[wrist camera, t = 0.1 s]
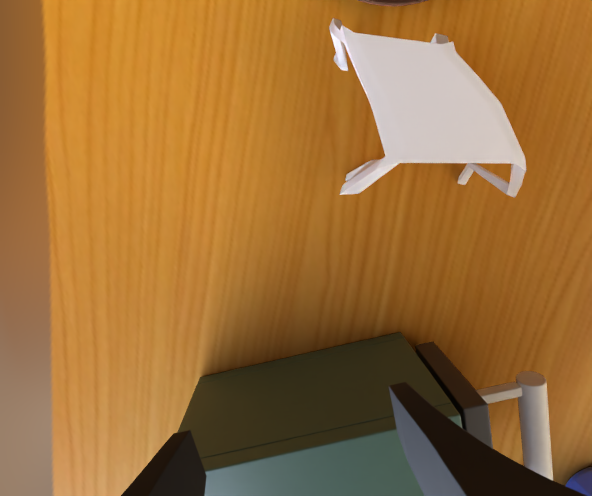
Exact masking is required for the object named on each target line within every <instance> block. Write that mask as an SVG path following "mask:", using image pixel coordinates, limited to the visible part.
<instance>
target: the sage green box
mask: <svg viewBox="0 0 592 496" xmlns="http://www.w3.org/2000/svg"><path fill="white" fill-rule="evenodd" d="M402 382H407V383H408V384H409V385H410V386H412V387H413V388H414V389H415V390H416V391H417V392H418V393H419V394H420V395H421V396H423V397H424V398H425V399H426V400H427V401H428V402H430V403H431V404H432V405H433V406H434V407H436V408H437V409H438V410H439V411H440V412H442V413H443V414H444V415H446V416H447V417H448V418H449V419H451V420H452V421H453V422H455V423H456V424H457V425H459V426H460V427H461V428H462V424H461V417H460V414H459V413H458V411H457V410H456V408H455V407H454V406H453V404H452V402H451V401H450V400H449V398H448V397H447V396H446V394H445V393H444V391H443V390H442V389H441V387H440V386H439V384H438V383H437V382H436V380H435V379H434V378H433V376H432V375H431V373H430V372H429V371H428V369H427V368H426V366H425V365H424V364H423V362H422V361H421V360H420V358H419V357H418V355H417V354H416V353H415V351H414V350H413V348H412V347H411V346H410V344H409V343H408V342H407V340H406V339H405V338H404V336H403V335H402V333H401V332H399V333H394V334H390V335H386V336H381V337H377V338H372V339H368V340H363V341H359V342H355V343H350V344H346V345H341V346H337V347H332V348H328V349H324V350H319V351H315V352H310V353H306V354H301V355H297V356H293V357H288V358H284V359H279V360H275V361H270V362H266V363H262V364H257V365H253V366H248V367H244V368H239V369H235V370H231V371H226V372H222V373H217V374H213V375H208V376H204V377H200V379H199V381H198V384H197V386H196V388H195V391H194V393H193V396H192V398H191V401H190V403H189V406H188V408H187V411H186V413H185V415H184V418H183V420H182V423H181V425H180V428H179V430H178V433H179V432H183V431H188V430H190V431H191V433H192V436H193V439H194V442H195V445H196V448H197V450H198V453H199V456H200V459H201V462H202V464H203V467H204V470H205V473H206V476H207V477H206V485H205V494H204V496H424V494H423V492H422V490H421V488H420V485H419V483H418V481H417V479H416V477H415V475H414V473H413V471H412V469H411V467H410V465H409V463H408V460H407V458H406V455H405V452H404V450H403V447H402V444H401V442H400V439H399V436H398V433H397V428H396V423H395V417H394V412H393V407H392V402H391V396H390V391H389V385H393V384H398V383H402Z"/></svg>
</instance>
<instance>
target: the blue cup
mask: <svg viewBox="0 0 592 496" xmlns="http://www.w3.org/2000/svg"><path fill="white" fill-rule="evenodd" d="M565 486H566V487H568V488H571V489H573V490H575V491H578V492H580V493H582V494H585V495H587V496H592V467H588V468H585V469H583V470H581V471H579V472H577V473H576V474H574V475H573V476H572V477H571V478H570V479H569V480H568V482H567V483H566V485H565Z"/></svg>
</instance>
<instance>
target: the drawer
mask: <svg viewBox="0 0 592 496" xmlns="http://www.w3.org/2000/svg"><path fill="white" fill-rule="evenodd" d="M415 348H416V354H417V355H418V357H419V358H420V360H421V361H422V362H423V364H424V365H425V366H426V368H427V369H428V371H429V372H430V373H431V375H432V376H433V378H434V379H435V380H436V382H437V383H438V384H439V386H440V387H441V389H442V390H443V391H444V393H445V394H446V396H447V397H448V398H449V400H450V401H451V402H452V404H453V406H454V407H455V408H456V410H457V411H458V413H459V414H460V417H461V424H462V428H463V429H464V430H466V431H467V432H468V433H470V434H471V435H473V436H474V437H476V438H477V439H479V440H480V441H482V442H483V443H485V444H486V445H488V446H489V447H491V448H493V445H492V436H491V427H490V418H489V410H488V404H489V403H493V402H498V401H503V400H507V399H512V398H516V397H518V406H519V417H520V428H521V439H522V450H523V461H524V466H525V467H527V468H528V469H530V470H532V471H534V472H536V473H538V474H540V475H542V476H544V477H546V478H548V479H551V480H553V471H552V456H551V442H550V427H549V412H548V397H547V383H546V379H545V378H544V376H542V375H541V374H539V373H536V372H532V371H522V372H520V373H518V374H517V375H516V382H510V383H506V384H501V385H497V386H492V387H488V388H483V389H478V390H475V389H474V388H473V387H472V385H471V384H470V383H469V382H468V381H467V380H466V379H465V377H464V376H463V375H462V374H461V373H460V372H459V371H458V369H457V368H456V367H455V366H454V365H453V364H452V363H451V361H450V360H449V359H448V358H447V357H446V356H445V354H444V353H443V352H442V351H441V350H440V349H439V348H438V346H437V345H436V344H435V343H434V342H428V343H423V344H419V345H416V346H415Z"/></svg>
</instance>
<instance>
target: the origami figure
mask: <svg viewBox="0 0 592 496" xmlns="http://www.w3.org/2000/svg"><path fill="white" fill-rule="evenodd" d="M329 29H330V33H331V36H332V40H333V43H334V47H335V50H336V54H335V57H334V61H335V63H336V64H337V65H338V66H339V68H340V69H341V70H346V71H348V65H347V59H346V52H345V47H346V49H347V52H348V54H349V57H350V59H351V61H352V64H353V66H354V69H355V71H356V73H357V76H358V78H359V80H360V82H361V84H362V86H363V89H364V91H365V93H366V95H367V97H368V99H369V102H370V105H371V108H372V111H373V114H374V117H375V121H376V124H377V128H378V131H379V135H380V138H381V142H382V145H383V149H384V152H385V157H384V158H382V159H381V160H371V161H369V162H367V163H365V164H364V165H362V166H360V167H359V168H357V169H355V170H353V171H352V172H350V173H348V174H347V176H346V180H345V181H347V182H346V183H345V184H343V186H342V188H341V191H340V194H339V195H342V194H359V193H360V192H362V191H363V190H364V189H366V188H367V187H368V186H370V185H371V184H372V183H374V182H375V181H376V180H378V179H379V178H380V177H382V176H383V175H384V174H386V173H387V172H388V171H390V170H391V169H392V168H394V167H395V166H396V165H398V164H399V163H468V164H467V165H466V167H465V168H464V170H463V171H462V173H461V174H460V176H459V178H458V184H463V185H465V184H466V182H467V181H468V179H469V178H470V176H471V175H472V173H473V172H474V171H475V172H477V173H478V174H479V175H481V176H482V177H483V178H485V179H486V180H488V181H489V182H490V183H492V184H493V185H494V186H496V187H497V188H498V189H500V190H501V191H503V192H504V193H505V194H507V195H509V196H512V197H516V195H517V193H518V191H519V188H520V186H521V184H522V181H523V177H524V174H525V171H526V160H525V156H524V154H523V152H522V149H521V147H520V145H519V143H518V140H517V138H516V136H515V134H514V131H513V129H512V127H511V125H510V122H509V120H508V118H507V116H506V113H505V111H504V109H503V107H502V104H501V103H500V102H499V100H498V99H497V98H496V97H495V96H494V94H493V93H492V92H491V91H490V90H489V88H488V87H487V86H486V85H485V84H484V82H483V81H482V80H481V79H480V78H479V77H478V75H477V74H476V73H475V72H474V71H473V70H472V69H471V68H470V67H469V66H468V65H467V63H466V62H465V61H464V60H463V59H462V58H461V57H460V56H459V55H458V54H457V53H456V51H455V47H454V43H453V42H449V41H448V36H445V35H441V34H437V33H436V34H435V35H434V37H433V38H432V40H431V42H430V43H428V42H420V41H413V40H406V39H398V38H391V37H383V36H376V35H369V34H361V33H354V32H352V31H351V30H349V29H347V28H346V27H344V26H343V25H342V22H341V21H340V20H338V19H335V18H333V19H332V22H331V24H330V27H329ZM476 163H511V178H510V183H509V182H507V181H505V180H504V179H502V178H500V177H499V176H497V175H495V174H493V173H492V172H490V171H488V170H487V169H485V168H483V167H482V166H480V165H478V164H476ZM526 172H527V171H526Z"/></svg>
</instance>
